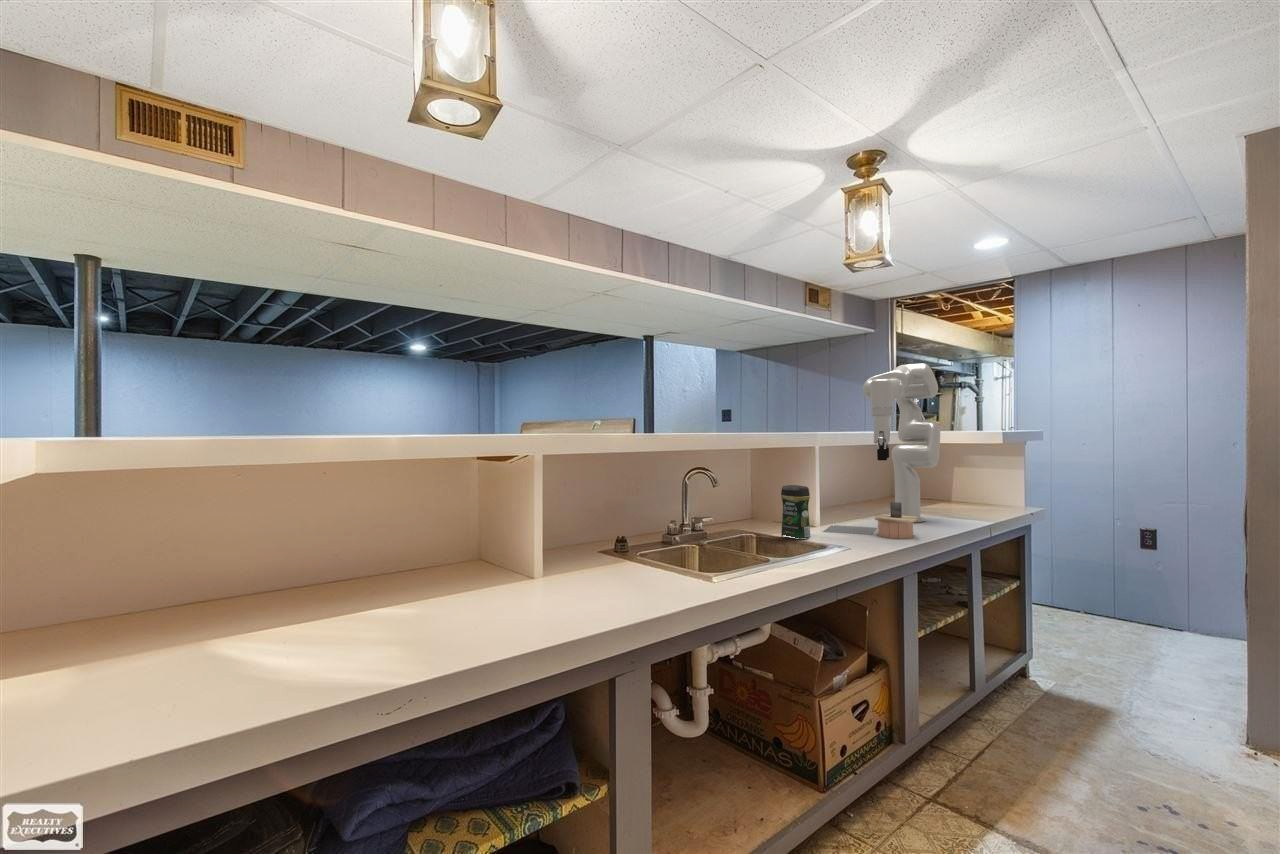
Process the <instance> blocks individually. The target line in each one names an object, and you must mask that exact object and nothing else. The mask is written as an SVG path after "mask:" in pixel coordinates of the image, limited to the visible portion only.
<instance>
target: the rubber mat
mask: <svg viewBox="0 0 1280 854" xmlns="http://www.w3.org/2000/svg"><path fill="white" fill-rule="evenodd" d="M833 525H834V526H833ZM877 529H878V527H870V526H856V525H855V526H854V525H853V526H852V525H836V524H830V525H829V526H828V527H827V528H825V529H824V530H823V531H822V533H832V534H833V533H834V534H835V533H836V534H849V535H851V534H852V535H862V536H863V535H867V536H873V534H874V533H875V532H876V531H878V530H877Z"/></svg>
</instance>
